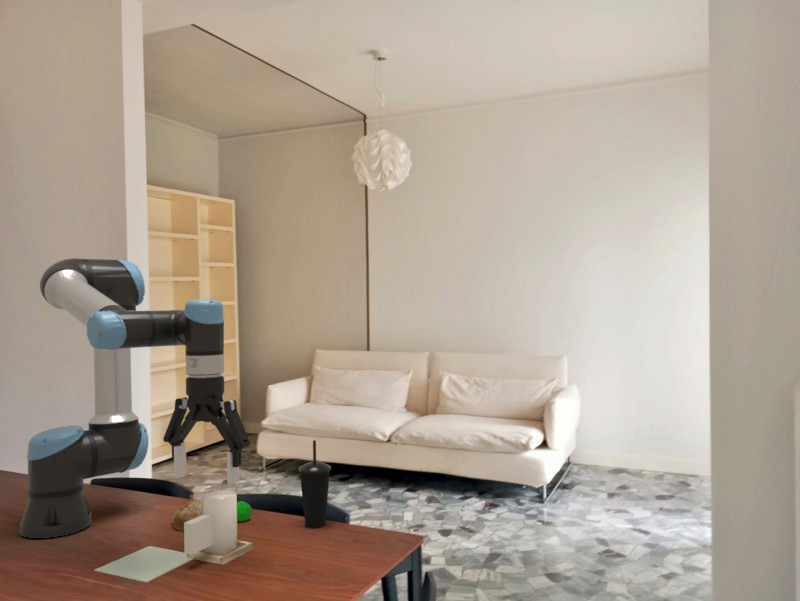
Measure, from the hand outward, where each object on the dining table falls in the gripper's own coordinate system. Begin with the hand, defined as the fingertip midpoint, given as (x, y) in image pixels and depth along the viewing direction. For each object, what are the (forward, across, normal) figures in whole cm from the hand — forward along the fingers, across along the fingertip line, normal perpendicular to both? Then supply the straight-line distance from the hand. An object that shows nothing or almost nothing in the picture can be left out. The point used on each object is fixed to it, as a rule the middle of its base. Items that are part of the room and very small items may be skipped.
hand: (206, 480), depth 131 cm
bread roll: (+17, -18, +16) cm, 30 cm away
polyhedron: (+17, -9, +23) cm, 30 cm away
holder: (+17, 0, +4) cm, 17 cm away
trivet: (+17, -10, -6) cm, 20 cm away
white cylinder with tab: (+16, 0, +1) cm, 16 cm away
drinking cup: (+17, +9, +28) cm, 34 cm away
